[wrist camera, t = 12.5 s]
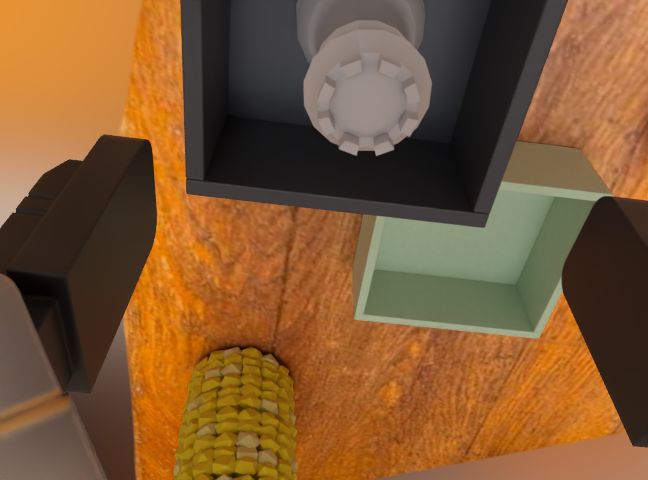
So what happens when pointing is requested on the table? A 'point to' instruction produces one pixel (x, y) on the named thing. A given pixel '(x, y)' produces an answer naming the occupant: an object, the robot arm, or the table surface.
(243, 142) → the charcoal bin
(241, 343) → the table surface
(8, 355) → the robot arm
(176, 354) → the table surface
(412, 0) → the rook chess piece
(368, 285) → the sage bin
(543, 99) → the table surface
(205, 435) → the food
